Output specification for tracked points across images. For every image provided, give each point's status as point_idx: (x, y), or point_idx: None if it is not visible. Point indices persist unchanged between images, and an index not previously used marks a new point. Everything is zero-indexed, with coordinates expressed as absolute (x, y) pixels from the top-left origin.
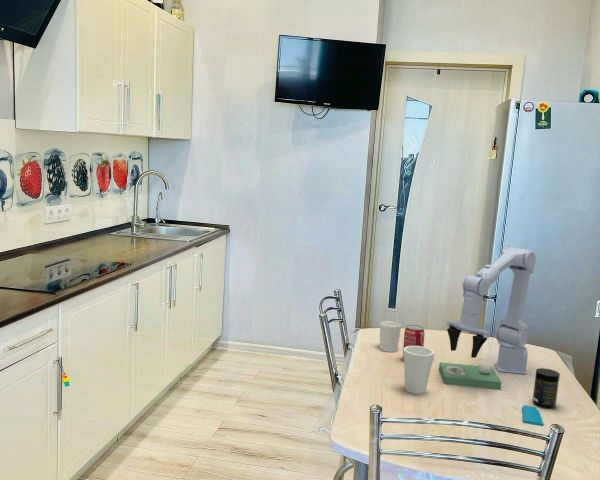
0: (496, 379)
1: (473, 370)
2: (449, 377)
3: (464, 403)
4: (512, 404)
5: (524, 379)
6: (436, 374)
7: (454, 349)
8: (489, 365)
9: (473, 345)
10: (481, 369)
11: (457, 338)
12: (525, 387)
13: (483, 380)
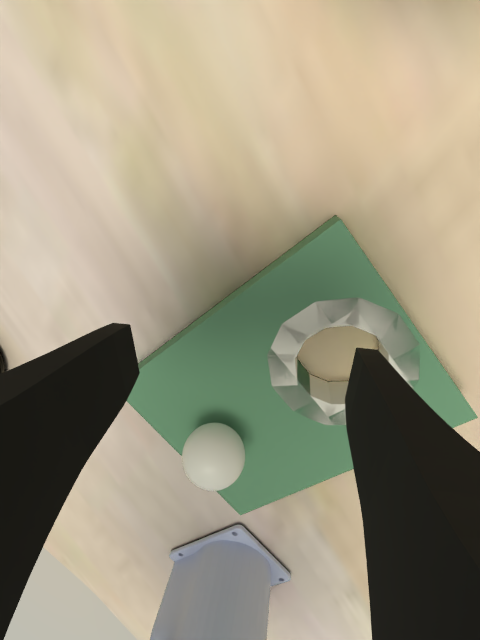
0: (145, 403)
1: (275, 431)
2: (314, 238)
3: (104, 38)
4: (9, 259)
5: (148, 512)
6: (437, 313)
7: (351, 388)
8: (184, 466)
9: (11, 389)
10: (217, 428)
11: (372, 537)
12: (101, 452)
13: (169, 346)
